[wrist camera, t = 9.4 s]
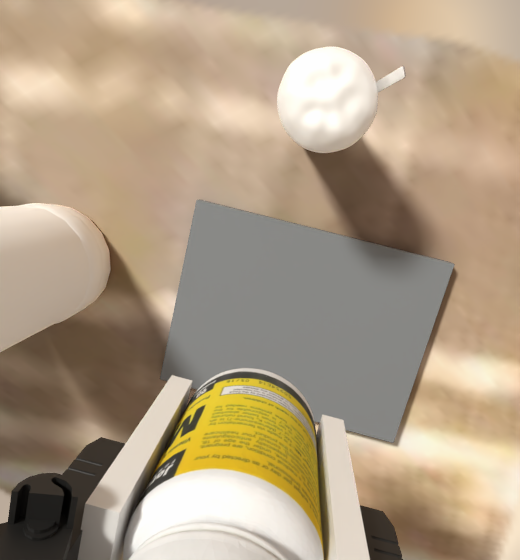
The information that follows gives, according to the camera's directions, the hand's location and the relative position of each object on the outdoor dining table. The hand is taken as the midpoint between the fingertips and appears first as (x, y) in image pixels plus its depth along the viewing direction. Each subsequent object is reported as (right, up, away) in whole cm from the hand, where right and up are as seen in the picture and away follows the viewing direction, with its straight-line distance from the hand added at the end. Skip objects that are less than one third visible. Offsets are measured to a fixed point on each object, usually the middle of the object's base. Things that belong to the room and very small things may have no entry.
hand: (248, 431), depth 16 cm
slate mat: (+3, +3, +15) cm, 15 cm away
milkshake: (+5, +15, +12) cm, 20 cm away
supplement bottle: (0, 0, +1) cm, 1 cm away
